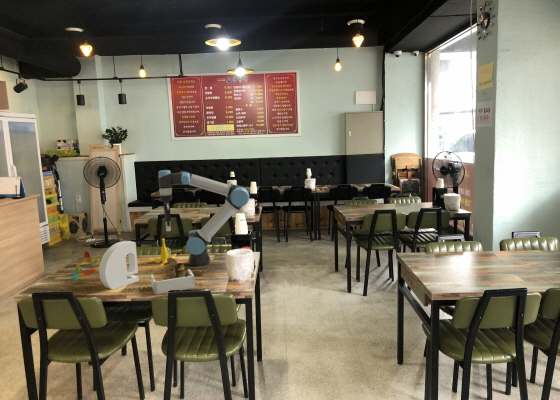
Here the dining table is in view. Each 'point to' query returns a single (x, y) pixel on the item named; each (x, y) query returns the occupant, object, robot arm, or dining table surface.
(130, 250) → the bracket
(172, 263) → the wooden mug
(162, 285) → the box
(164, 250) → the banana peel
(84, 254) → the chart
